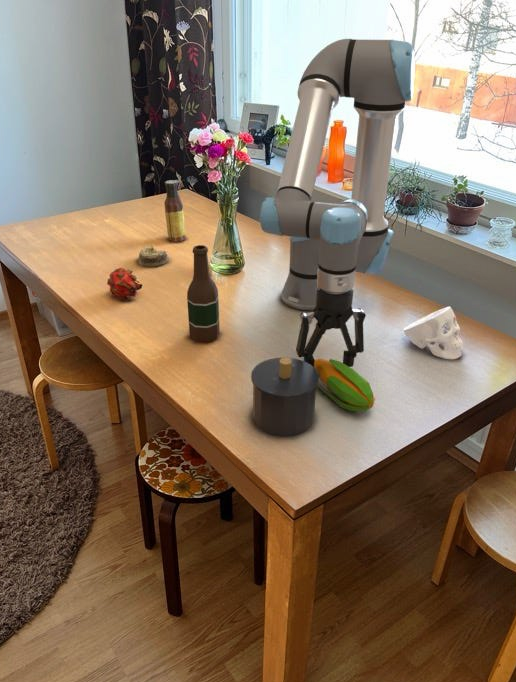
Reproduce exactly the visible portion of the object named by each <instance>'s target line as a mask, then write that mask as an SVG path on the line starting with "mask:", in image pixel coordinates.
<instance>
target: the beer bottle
mask: <svg viewBox="0 0 516 682" xmlns="http://www.w3.org/2000/svg"><path fill="white" fill-rule="evenodd" d="M208 253H209V248H208V246H206V245H203V244H199V245H195V246H193V248H192V254H193V276H192V280H191V282H190V284H189V285H188V288H187V291H186V293H187V294H186V300H187V301H186V302H187V313H188V314H187V317H188V331H189V337H190V339H192V340H194V341H195V343H203V344H204V343H205V344H209V343H211V342H214V341H217V339H218V337H219V335H220V306H219V305H220V304H219V290H218V287H217V285H216V282H214V281H213V279H212V277H211V274H210V267H209V256H208Z"/></svg>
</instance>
